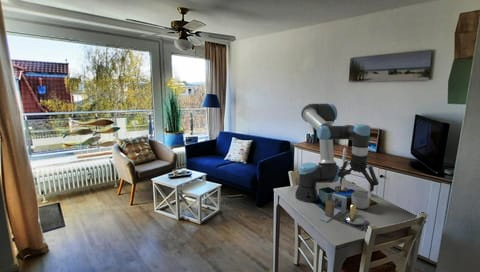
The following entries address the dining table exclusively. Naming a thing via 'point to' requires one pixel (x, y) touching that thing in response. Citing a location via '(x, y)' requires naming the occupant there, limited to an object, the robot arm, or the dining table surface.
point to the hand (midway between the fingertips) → (355, 193)
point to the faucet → (354, 216)
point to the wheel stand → (354, 225)
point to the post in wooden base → (331, 206)
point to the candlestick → (338, 188)
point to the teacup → (360, 200)
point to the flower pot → (326, 193)
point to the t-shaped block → (336, 209)
